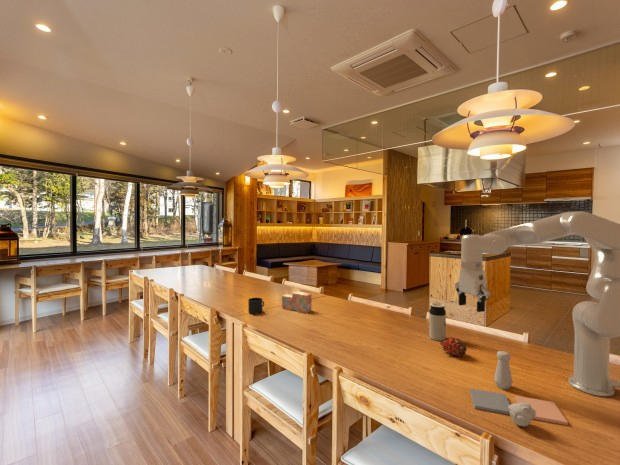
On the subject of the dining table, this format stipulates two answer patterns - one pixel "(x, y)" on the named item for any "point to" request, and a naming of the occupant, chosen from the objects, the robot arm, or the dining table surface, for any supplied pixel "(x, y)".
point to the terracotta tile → (544, 410)
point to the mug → (255, 305)
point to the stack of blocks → (297, 302)
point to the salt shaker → (503, 371)
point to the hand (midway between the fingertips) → (471, 308)
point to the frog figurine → (522, 413)
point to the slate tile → (490, 401)
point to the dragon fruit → (454, 346)
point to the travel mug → (437, 322)
